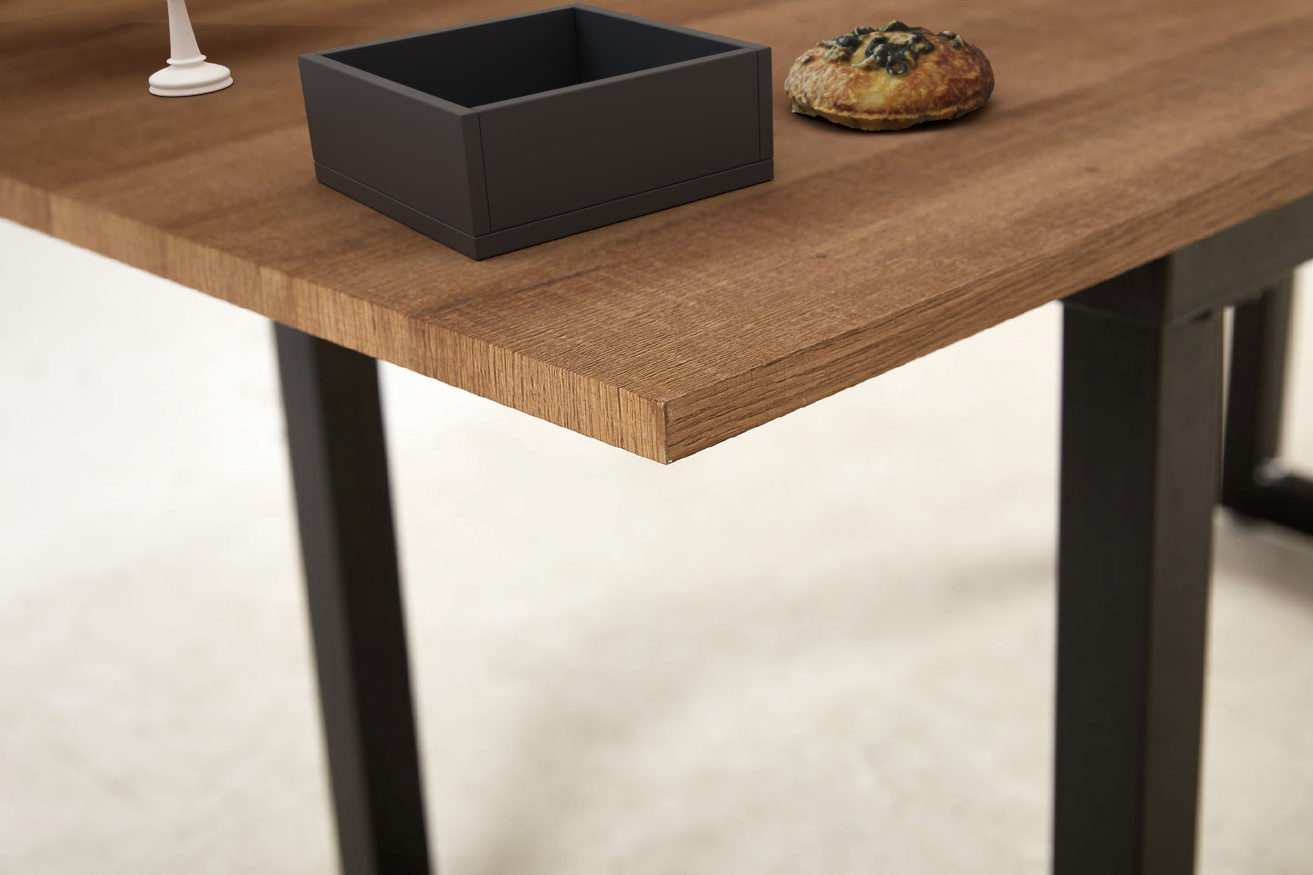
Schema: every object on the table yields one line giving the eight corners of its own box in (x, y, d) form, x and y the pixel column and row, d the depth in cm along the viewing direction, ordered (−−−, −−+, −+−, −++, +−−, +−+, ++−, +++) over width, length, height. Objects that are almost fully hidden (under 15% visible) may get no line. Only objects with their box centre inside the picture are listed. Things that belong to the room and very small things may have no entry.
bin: (476, 261, 63) (460, 115, 60) (315, 180, 75) (296, 55, 72) (774, 179, 71) (772, 46, 68) (587, 117, 82) (578, 2, 80)
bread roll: (1037, 90, 81) (1032, -5, 79) (918, 170, 75) (908, 70, 72) (863, 73, 88) (853, -15, 86) (741, 145, 82) (726, 53, 80)
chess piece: (248, 77, 95) (220, -93, 91) (202, 97, 91) (170, -80, 87) (180, 75, 97) (149, -93, 92) (132, 95, 93) (96, -80, 88)
